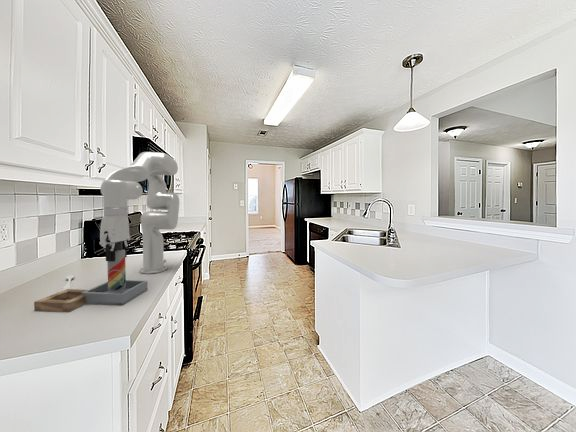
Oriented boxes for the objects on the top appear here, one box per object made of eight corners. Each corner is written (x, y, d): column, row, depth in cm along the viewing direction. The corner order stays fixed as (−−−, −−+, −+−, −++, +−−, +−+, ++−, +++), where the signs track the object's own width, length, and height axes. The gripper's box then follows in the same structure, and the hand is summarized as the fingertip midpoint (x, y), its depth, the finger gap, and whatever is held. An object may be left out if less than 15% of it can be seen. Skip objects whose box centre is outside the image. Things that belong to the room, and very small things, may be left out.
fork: (61, 296, 101) (61, 290, 101) (67, 277, 117) (67, 272, 117) (71, 294, 103) (70, 288, 102) (75, 276, 119) (75, 271, 119)
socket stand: (67, 296, 94) (67, 289, 94) (97, 297, 94) (97, 290, 94) (34, 310, 82) (34, 301, 82) (69, 311, 82) (69, 303, 82)
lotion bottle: (116, 292, 92) (115, 239, 91) (104, 290, 93) (103, 238, 92) (129, 287, 98) (128, 237, 97) (117, 285, 99) (116, 236, 98)
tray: (112, 288, 104) (112, 279, 103) (147, 290, 103) (147, 280, 103) (81, 303, 89) (81, 292, 88) (122, 305, 88) (122, 294, 88)
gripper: (122, 211, 103) (122, 254, 104) (87, 213, 85) (88, 264, 87) (139, 211, 102) (140, 254, 103) (108, 214, 85) (109, 265, 86)
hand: (116, 258), depth 95 cm, fingers closed on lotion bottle, 5 cm apart
